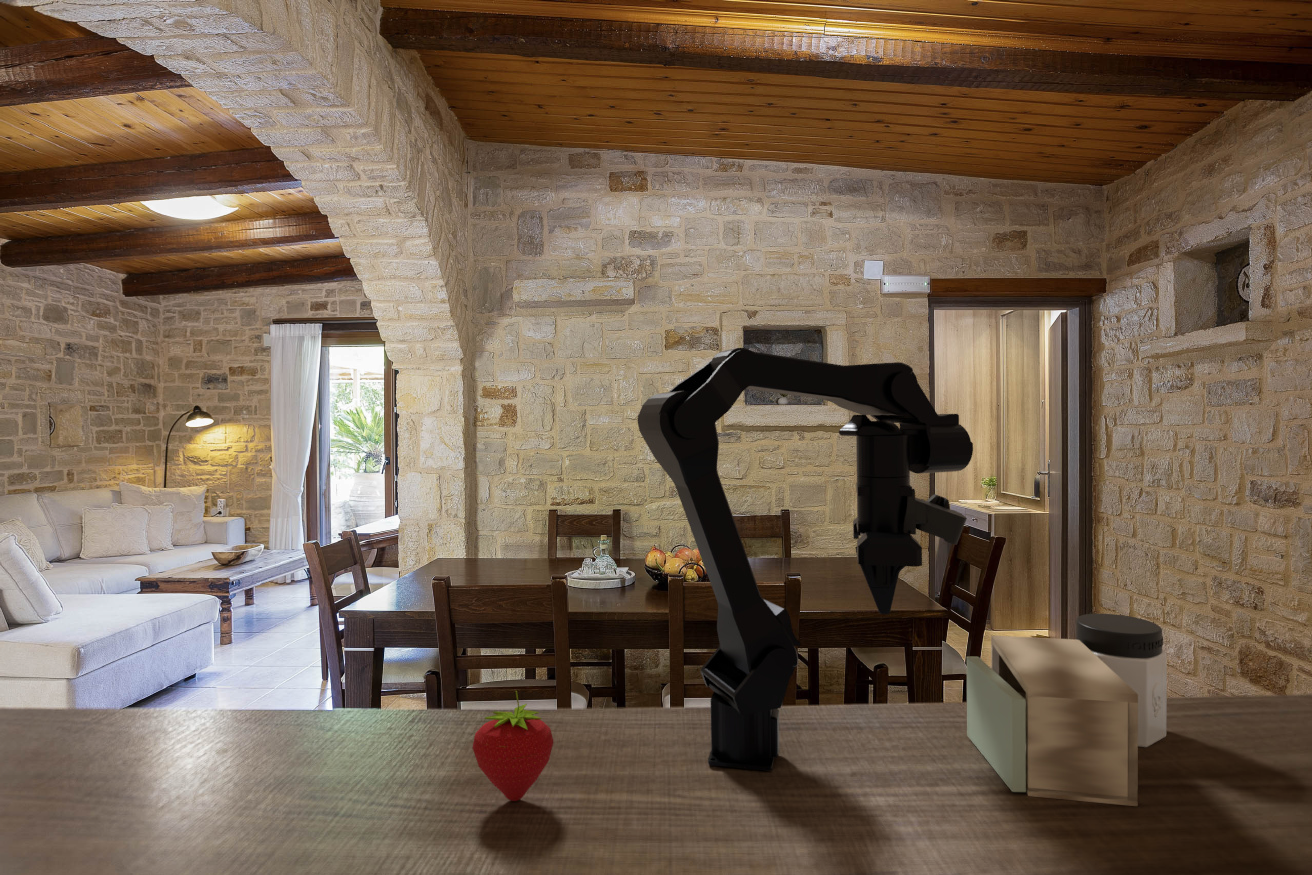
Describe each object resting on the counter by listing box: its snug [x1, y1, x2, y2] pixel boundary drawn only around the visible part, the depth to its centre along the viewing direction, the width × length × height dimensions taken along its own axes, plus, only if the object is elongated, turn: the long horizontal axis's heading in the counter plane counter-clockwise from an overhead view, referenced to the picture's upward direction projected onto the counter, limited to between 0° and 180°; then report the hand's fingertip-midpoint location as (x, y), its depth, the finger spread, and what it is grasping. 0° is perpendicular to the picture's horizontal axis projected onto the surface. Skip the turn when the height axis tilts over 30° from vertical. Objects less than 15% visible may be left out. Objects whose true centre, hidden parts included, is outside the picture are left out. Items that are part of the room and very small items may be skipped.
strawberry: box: [472, 690, 554, 802], centre depth 69 cm, size 6×8×10 cm
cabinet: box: [990, 635, 1139, 807], centre depth 75 cm, size 9×16×10 cm, turn 167°
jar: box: [1075, 613, 1168, 748], centre depth 81 cm, size 9×8×12 cm
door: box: [966, 656, 1027, 793], centre depth 74 cm, size 1×12×9 cm, turn 176°
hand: (884, 613), depth 83 cm, fingers closed
